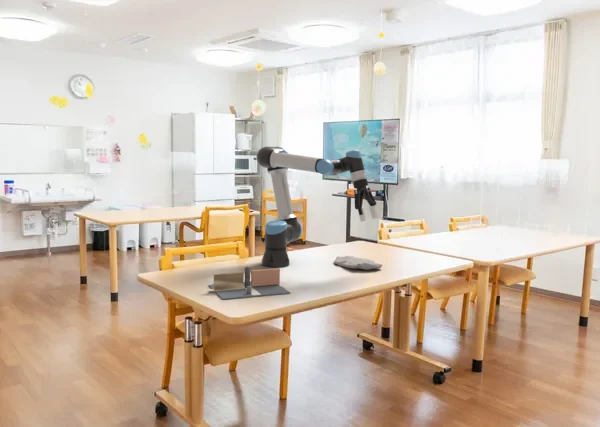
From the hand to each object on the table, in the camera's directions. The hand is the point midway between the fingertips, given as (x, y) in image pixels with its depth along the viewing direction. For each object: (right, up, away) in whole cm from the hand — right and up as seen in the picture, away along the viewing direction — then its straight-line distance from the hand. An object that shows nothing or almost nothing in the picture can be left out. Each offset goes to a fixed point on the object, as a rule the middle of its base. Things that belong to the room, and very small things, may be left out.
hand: (369, 219), depth 270 cm
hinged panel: (-51, -29, -34) cm, 68 cm away
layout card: (-58, -30, -39) cm, 77 cm away
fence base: (-66, -30, -40) cm, 83 cm away
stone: (-7, -26, +13) cm, 30 cm away
